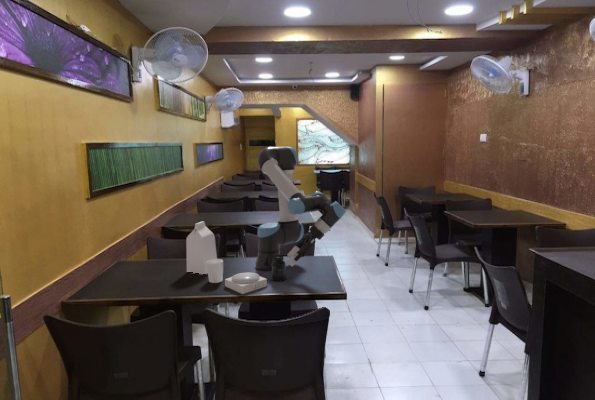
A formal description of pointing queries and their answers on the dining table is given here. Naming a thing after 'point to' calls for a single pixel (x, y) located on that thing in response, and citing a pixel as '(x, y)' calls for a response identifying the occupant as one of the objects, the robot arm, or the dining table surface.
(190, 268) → the milk
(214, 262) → the white cup
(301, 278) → the dining table surface
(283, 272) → the supplement bottle
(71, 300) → the dining table surface
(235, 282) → the dial scale
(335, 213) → the robot arm
